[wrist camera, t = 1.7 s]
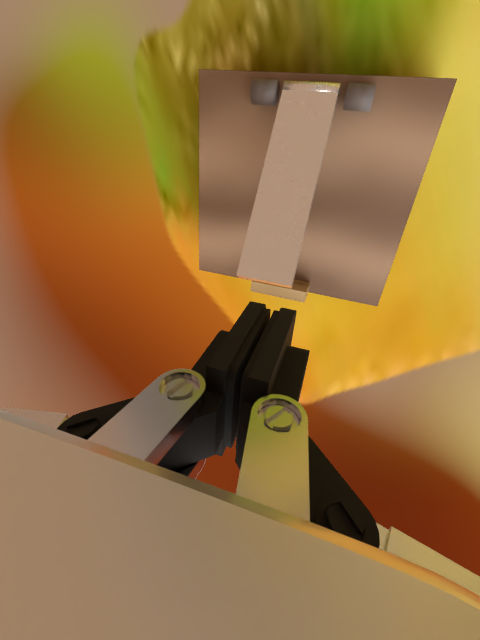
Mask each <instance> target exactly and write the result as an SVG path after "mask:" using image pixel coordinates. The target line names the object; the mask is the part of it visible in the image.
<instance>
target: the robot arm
mask: <svg viewBox="0 0 480 640" xmlns="http://www.w3.org/2000/svg"><path fill="white" fill-rule="evenodd" d="M295 318H296V310H291V309H286V308H281V309H280V311H276V310H274V312H273V314H272V316H271V318H270V309H266V305H265V304H261V303H256V302H251V301H250V302H249V304H248V305H247V307H246V308H245V310H244V311H243V313H242V314H241V316H240V317H239V318H238V320H237V321H236V323H235V324H234V326H233V327H232V329H231V330H230V332H227V331H223V330H222V331H220V332H219V333H218V334H217V336H216V337H215V338H214V340H213V341H212V342H211V344H210V345H209V346H208V348H207V349H206V350H205V352H204V353H203V355H202V356H201V357H200V359H199V360H198V361H197V363H196V364H195V365H194V367H193V368H192V369H191V370H189V369H176V370H171V371H168V372H166V373H164V374H162V375H161V376H159V377H158V378H157V379H156V380H155V381H154V382H153V383H151V384H150V385H149V386H148V387H147V388H146V389H145V390H143V391H142V392H141V393H140V394H139V395H138V396H137V397H135V398H131V399H127V400H124V401H121V402H117V403H113V404H109V405H106V406H103V407H99V408H95V409H92V410H88V411H84V412H81V413H79V414H76V415H73V416H72V417H70V418H69V417H68V414H65V413H55V412H46V411H36V410H26V409H16V408H0V640H480V577H479V576H477V575H475V574H473V573H472V572H470V571H468V570H467V569H465V568H463V567H461V566H460V565H458V564H456V563H455V562H453V561H451V560H449V559H448V558H446V557H444V556H442V555H441V554H439V553H437V552H435V551H434V550H432V549H430V548H428V547H427V546H425V545H423V544H421V543H420V542H418V541H416V540H414V539H413V538H411V537H409V536H407V535H405V534H404V533H402V532H401V531H399V530H397V529H395V528H393V527H391V528H390V530H387V529H386V528H384V527H382V526H381V525H379V524H377V523H376V521H375V520H374V518H373V516H372V515H371V513H370V512H369V510H368V509H367V508H366V506H365V505H364V504H363V503H362V501H361V500H360V499H359V498H358V496H357V495H356V494H355V493H354V491H353V490H352V489H351V488H350V486H349V485H348V484H347V483H346V481H345V480H344V479H343V478H342V477H341V475H340V474H339V473H338V471H337V470H336V469H335V468H334V467H333V465H332V464H331V463H330V462H329V461H328V459H327V458H326V457H325V455H324V454H323V453H322V452H321V450H320V449H319V448H318V447H317V445H316V444H315V443H314V442H313V441H312V439H311V438H310V437H309V435H308V418H307V413H306V411H305V410H304V408H303V406H302V405H301V404H300V403H298V402H299V397H300V393H301V389H302V384H303V380H304V375H305V370H306V366H307V361H308V356H309V352H310V351H309V350H305V349H300V348H296V347H292V346H291V341H292V335H293V329H294V324H295ZM236 437H237V439H236ZM235 439H236V460H235V462H236V463H237V465H238V467H239V469H240V475H239V480H238V486H237V491H236V494H234V493H231V492H228V491H226V490H223V489H220V488H217V487H215V486H212V485H209V484H206V483H204V482H201V481H198V480H195V478H196V477H197V475H198V474H199V472H200V471H201V469H202V468H203V465H204V463H205V458H208V457H210V456H213V455H215V454H217V455H219V456H222V455H223V452H224V450H225V448H226V446H227V447H230V448H231V447H232V446H233V444H234V441H235Z"/></svg>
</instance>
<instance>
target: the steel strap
mask: <svg viewBox="0 0 480 640" xmlns="http://www.w3.org/2000/svg"><path fill="white" fill-rule="evenodd" d="M340 87H341V83H334V82H311V81H288V80H285V81H284V84H283V90H282V94H281V98H280V102H279V106H278V110H277V114H276V118H275V122H274V126H273V130H272V134H271V138H270V142H269V146H268V150H267V154H266V158H265V162H264V166H263V170H262V174H261V178H260V182H259V186H258V190H257V194H256V198H255V202H254V206H253V210H252V214H251V218H250V222H249V226H248V230H247V234H246V239H245V243H244V247H243V251H242V255H241V259H240V263H239V267H238V271H237V276H238V277H239V278H243V279H248V280H253V281H258V282H263V283H268V284H272V285H277V286H282V287H287V288H292V286H293V282H294V278H295V274H296V270H297V266H298V261H299V257H300V253H301V249H302V245H303V241H304V237H305V233H306V228H307V224H308V220H309V216H310V212H311V208H312V204H313V200H314V196H315V191H316V187H317V183H318V179H319V175H320V171H321V167H322V163H323V158H324V154H325V150H326V146H327V142H328V138H329V134H330V130H331V126H332V121H333V117H334V113H335V109H336V105H337V101H338V97H339V93H340Z"/></svg>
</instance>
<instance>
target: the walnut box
mask: <svg viewBox="0 0 480 640" xmlns="http://www.w3.org/2000/svg"><path fill="white" fill-rule="evenodd" d="M285 80H288V81H311V82H334V83H341V87H340V93H339V97H338V101H337V105H336V109H335V113H334V117H333V121H332V126H331V130H330V134H329V138H328V142H327V146H326V150H325V154H324V158H323V163H322V167H321V171H320V175H319V179H318V183H317V187H316V191H315V196H314V200H313V204H312V208H311V212H310V216H309V220H308V224H307V228H306V233H305V237H304V241H303V245H302V249H301V253H300V257H299V261H298V266H297V270H296V274H295V278H294V282H293V286H292V288H287V287H282V286H277V285H272V284H268V283H263V282H258V281H253V280H252V283H251V291H253V292H258V293H262V294H267V295H272V296H276V297H281V298H286V299H290V300H295V301H300V302H305V299H306V296H307V293H308V292H310V293H315V294H320V295H325V296H330V297H335V298H340V299H345V300H349V301H354V302H359V303H364V304H369V305H374V306H378V303H379V300H380V297H381V294H382V291H383V288H384V286H385V283H386V280H387V277H388V274H389V271H390V269H391V266H392V263H393V260H394V257H395V254H396V251H397V249H398V246H399V243H400V240H401V237H402V234H403V231H404V229H405V226H406V223H407V220H408V217H409V214H410V212H411V209H412V206H413V203H414V200H415V197H416V194H417V192H418V189H419V186H420V183H421V180H422V177H423V174H424V172H425V169H426V166H427V163H428V160H429V157H430V154H431V152H432V149H433V146H434V143H435V140H436V137H437V135H438V132H439V129H440V126H441V123H442V120H443V117H444V115H445V112H446V109H447V106H448V103H449V100H450V97H451V95H452V92H453V89H454V86H455V83H456V80H457V79H453V78H426V77H399V76H371V75H344V74H317V73H289V72H262V71H235V70H207V69H199V270H203V271H208V272H213V273H218V274H223V275H228V276H233V277H237V278H239V277H238V276H237V271H238V267H239V263H240V259H241V255H242V251H243V247H244V243H245V239H246V234H247V230H248V226H249V222H250V218H251V214H252V210H253V206H254V202H255V198H256V194H257V190H258V186H259V182H260V178H261V174H262V170H263V166H264V162H265V158H266V154H267V150H268V146H269V142H270V138H271V134H272V130H273V126H274V122H275V118H276V114H277V110H278V106H279V102H280V98H281V94H282V90H283V84H284V81H285ZM242 279H243V278H242ZM247 280H248V279H247Z"/></svg>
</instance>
